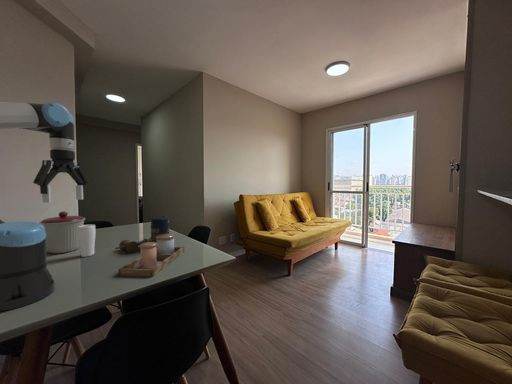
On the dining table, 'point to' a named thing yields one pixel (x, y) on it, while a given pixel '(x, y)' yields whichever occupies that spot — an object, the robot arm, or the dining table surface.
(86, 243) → the white tall cup
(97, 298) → the dining table surface
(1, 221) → the robot arm
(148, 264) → the tan domed cylinder
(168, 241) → the white lidded jar
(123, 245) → the kendama
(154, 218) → the canister
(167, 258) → the caddy
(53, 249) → the canister
